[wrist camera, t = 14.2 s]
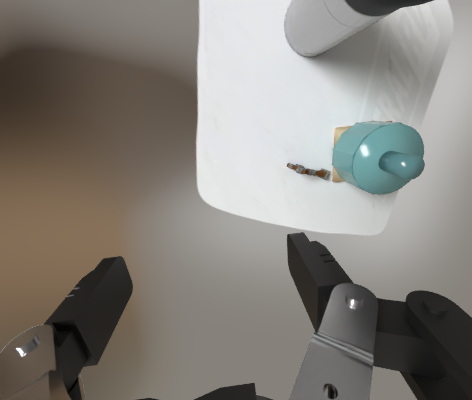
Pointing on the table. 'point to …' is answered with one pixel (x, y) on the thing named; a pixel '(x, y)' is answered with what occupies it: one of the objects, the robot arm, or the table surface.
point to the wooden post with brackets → (309, 171)
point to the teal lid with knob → (379, 156)
